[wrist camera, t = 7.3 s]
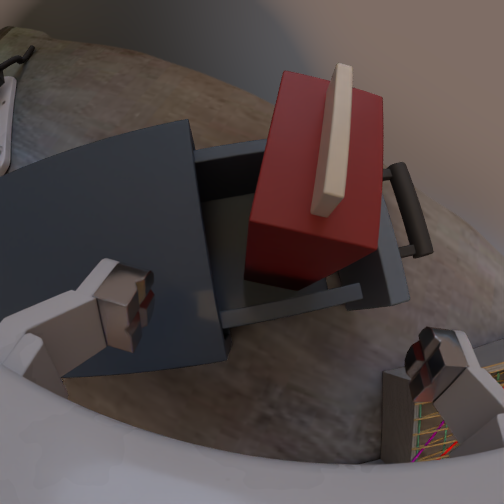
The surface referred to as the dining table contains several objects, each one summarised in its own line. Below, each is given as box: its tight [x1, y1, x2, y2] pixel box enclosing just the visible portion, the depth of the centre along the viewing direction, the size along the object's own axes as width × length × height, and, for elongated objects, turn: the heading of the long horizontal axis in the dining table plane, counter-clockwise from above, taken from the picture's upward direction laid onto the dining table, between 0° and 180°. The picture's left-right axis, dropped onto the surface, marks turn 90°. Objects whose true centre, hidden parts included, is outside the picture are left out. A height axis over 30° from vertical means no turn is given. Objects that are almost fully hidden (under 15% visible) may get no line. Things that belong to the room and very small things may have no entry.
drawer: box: [193, 139, 434, 329], centre depth 18 cm, size 16×10×7 cm, turn 101°
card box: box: [244, 63, 383, 291], centre depth 14 cm, size 4×6×13 cm, turn 168°
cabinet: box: [0, 119, 232, 378], centre depth 17 cm, size 14×12×9 cm
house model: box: [363, 339, 504, 464], centre depth 14 cm, size 23×25×8 cm
